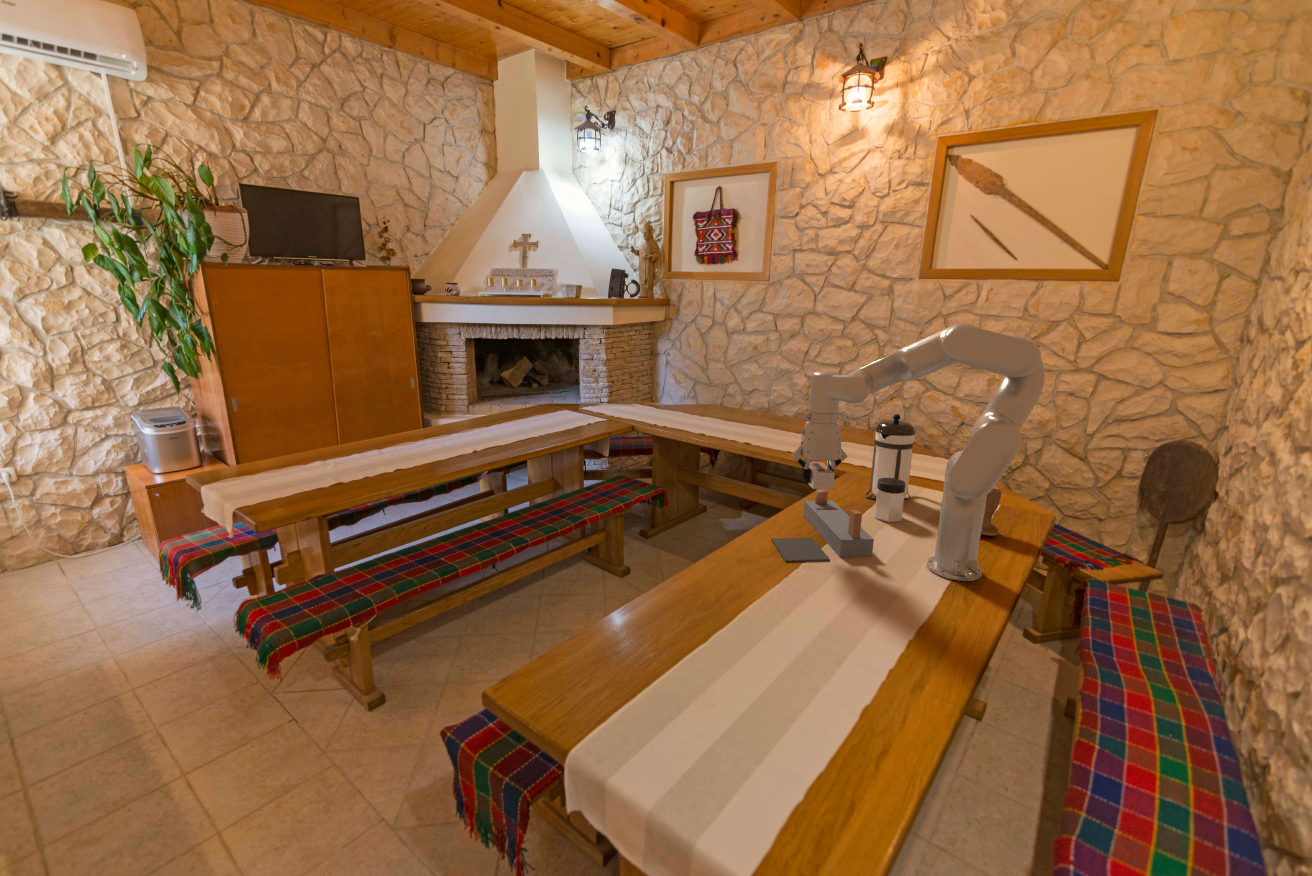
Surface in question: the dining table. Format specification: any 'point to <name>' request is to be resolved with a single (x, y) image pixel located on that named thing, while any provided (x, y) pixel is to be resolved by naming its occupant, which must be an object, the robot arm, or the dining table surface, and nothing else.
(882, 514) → the jar
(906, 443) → the coffee press
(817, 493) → the body
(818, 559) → the rubber mat
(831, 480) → the light grey box
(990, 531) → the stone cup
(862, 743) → the dining table surface
